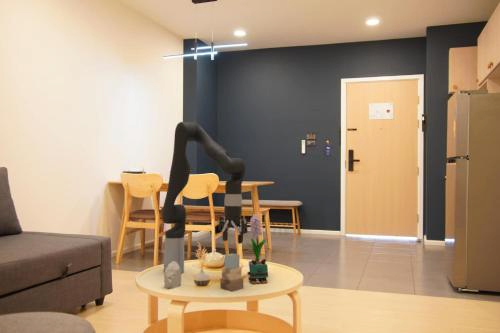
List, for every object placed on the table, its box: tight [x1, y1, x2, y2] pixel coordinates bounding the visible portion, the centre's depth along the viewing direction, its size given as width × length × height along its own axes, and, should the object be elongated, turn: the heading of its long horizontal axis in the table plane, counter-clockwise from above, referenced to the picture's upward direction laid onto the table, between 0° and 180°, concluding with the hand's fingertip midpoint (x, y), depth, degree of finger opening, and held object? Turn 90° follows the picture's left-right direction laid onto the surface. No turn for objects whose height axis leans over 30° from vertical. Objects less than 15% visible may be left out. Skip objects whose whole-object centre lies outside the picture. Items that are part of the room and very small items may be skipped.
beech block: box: [221, 266, 242, 281], centre depth 189 cm, size 6×6×4 cm
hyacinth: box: [246, 213, 267, 280], centre depth 208 cm, size 9×10×30 cm
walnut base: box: [219, 277, 244, 292], centre depth 189 cm, size 7×7×4 cm
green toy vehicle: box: [247, 258, 269, 285], centre depth 200 cm, size 9×10×10 cm
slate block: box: [224, 252, 240, 269], centre depth 189 cm, size 4×4×6 cm
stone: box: [163, 261, 182, 290], centre depth 191 cm, size 9×5×10 cm, turn 151°
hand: (232, 242), depth 189 cm, fingers open, 8 cm apart
